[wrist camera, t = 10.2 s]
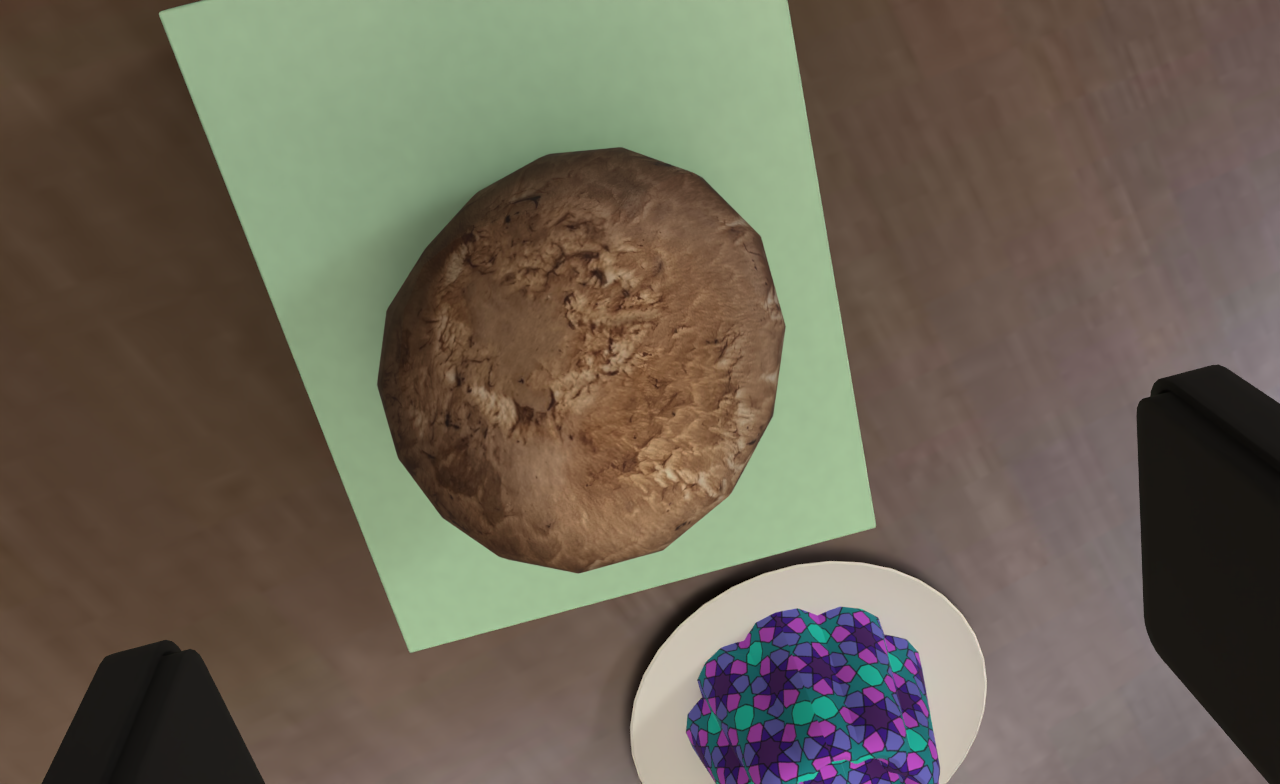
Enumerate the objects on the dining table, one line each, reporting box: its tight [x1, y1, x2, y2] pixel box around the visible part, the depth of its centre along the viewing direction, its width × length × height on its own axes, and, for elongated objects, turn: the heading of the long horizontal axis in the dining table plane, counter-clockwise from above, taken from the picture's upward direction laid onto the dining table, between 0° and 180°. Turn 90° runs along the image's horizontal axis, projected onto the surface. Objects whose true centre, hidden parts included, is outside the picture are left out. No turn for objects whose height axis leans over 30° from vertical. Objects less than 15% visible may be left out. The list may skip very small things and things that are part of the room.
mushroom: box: [377, 147, 786, 574], centre depth 22 cm, size 8×8×6 cm
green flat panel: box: [159, 0, 876, 653], centre depth 24 cm, size 15×12×1 cm
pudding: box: [630, 561, 987, 784], centre depth 36 cm, size 12×12×5 cm
